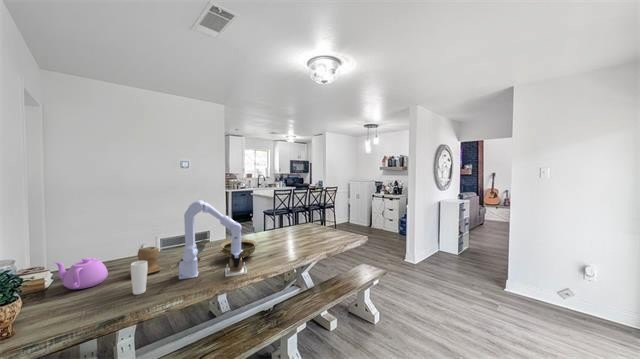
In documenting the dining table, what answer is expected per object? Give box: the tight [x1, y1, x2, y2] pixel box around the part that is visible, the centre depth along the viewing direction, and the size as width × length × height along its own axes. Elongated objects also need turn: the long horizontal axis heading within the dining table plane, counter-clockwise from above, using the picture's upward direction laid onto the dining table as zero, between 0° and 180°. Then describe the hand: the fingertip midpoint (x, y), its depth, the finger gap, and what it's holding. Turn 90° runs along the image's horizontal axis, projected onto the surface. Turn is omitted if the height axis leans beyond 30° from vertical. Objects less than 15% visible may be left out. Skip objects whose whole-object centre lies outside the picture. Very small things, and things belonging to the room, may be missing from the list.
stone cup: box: [137, 246, 163, 275], centre depth 145 cm, size 15×12×15 cm
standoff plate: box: [224, 261, 248, 278], centre depth 149 cm, size 12×10×4 cm
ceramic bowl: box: [217, 238, 259, 258], centre depth 173 cm, size 30×24×10 cm
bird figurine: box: [177, 239, 211, 266], centre depth 166 cm, size 13×10×20 cm
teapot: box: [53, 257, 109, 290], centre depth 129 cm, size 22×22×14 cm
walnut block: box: [229, 257, 243, 271], centre depth 149 cm, size 7×4×6 cm, turn 111°
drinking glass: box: [130, 260, 148, 296], centre depth 122 cm, size 7×7×15 cm
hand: (236, 265), depth 149 cm, fingers closed on walnut block, 4 cm apart
